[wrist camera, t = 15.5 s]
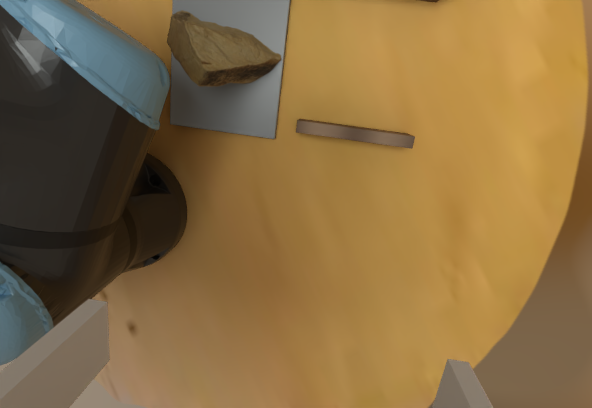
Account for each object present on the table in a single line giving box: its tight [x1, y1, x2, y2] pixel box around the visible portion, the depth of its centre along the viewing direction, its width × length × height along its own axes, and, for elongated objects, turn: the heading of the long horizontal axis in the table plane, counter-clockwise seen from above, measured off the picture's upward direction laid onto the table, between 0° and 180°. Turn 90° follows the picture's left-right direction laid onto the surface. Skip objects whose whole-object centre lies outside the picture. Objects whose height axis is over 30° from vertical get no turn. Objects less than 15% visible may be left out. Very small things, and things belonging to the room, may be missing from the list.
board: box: [170, 0, 291, 139], centre depth 37 cm, size 12×18×1 cm, turn 173°
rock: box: [167, 10, 281, 87], centre depth 33 cm, size 11×9×10 cm
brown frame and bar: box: [296, 0, 438, 148], centre depth 33 cm, size 14×25×4 cm, turn 173°
